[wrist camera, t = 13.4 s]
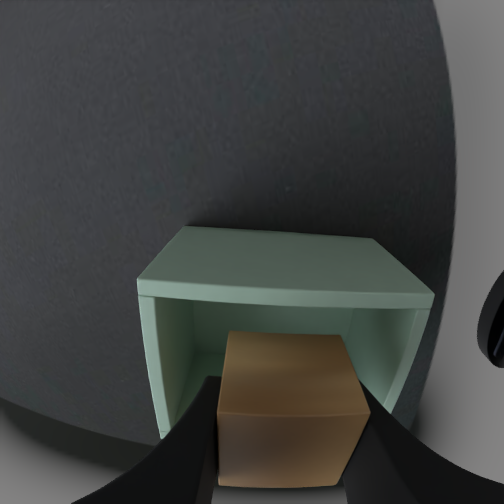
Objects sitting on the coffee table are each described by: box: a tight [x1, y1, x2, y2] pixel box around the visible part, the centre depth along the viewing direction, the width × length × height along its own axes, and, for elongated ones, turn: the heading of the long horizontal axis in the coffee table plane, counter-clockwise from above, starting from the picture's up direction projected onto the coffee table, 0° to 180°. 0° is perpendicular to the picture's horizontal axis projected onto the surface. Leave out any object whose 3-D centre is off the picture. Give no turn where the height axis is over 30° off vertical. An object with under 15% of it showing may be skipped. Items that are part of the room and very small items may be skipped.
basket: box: [137, 226, 435, 439], centre depth 14 cm, size 10×10×7 cm
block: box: [217, 330, 371, 488], centre depth 10 cm, size 4×4×4 cm
